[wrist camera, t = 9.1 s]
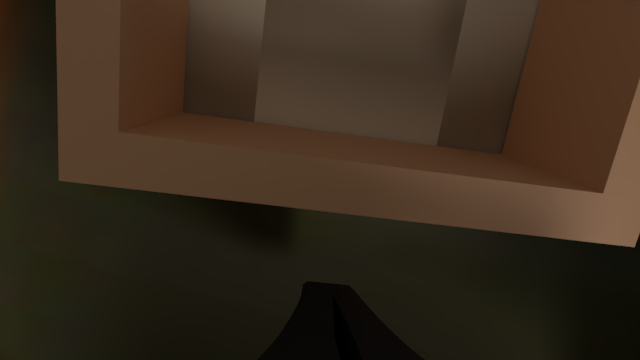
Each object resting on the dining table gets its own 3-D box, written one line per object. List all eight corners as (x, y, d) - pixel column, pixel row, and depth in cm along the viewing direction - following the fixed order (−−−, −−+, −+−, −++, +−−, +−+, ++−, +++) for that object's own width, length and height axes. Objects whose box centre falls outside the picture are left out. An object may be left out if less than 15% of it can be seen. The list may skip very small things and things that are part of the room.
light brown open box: (525, 192, 12) (634, 247, 8) (143, 144, 11) (59, 180, 7) (608, -116, 10) (803, -238, 6) (155, -205, 9) (48, -414, 5)
